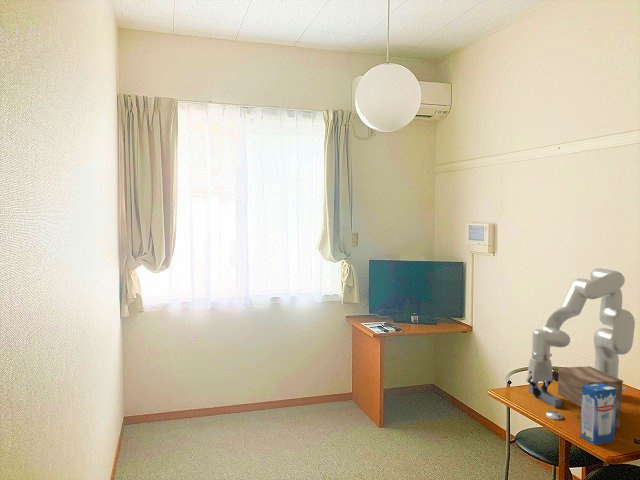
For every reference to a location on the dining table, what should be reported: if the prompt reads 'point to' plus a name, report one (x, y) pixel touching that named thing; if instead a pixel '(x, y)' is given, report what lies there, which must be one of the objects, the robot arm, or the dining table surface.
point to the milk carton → (598, 413)
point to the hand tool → (555, 375)
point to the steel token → (554, 415)
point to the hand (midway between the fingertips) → (539, 394)
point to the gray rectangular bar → (547, 397)
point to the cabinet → (580, 376)
